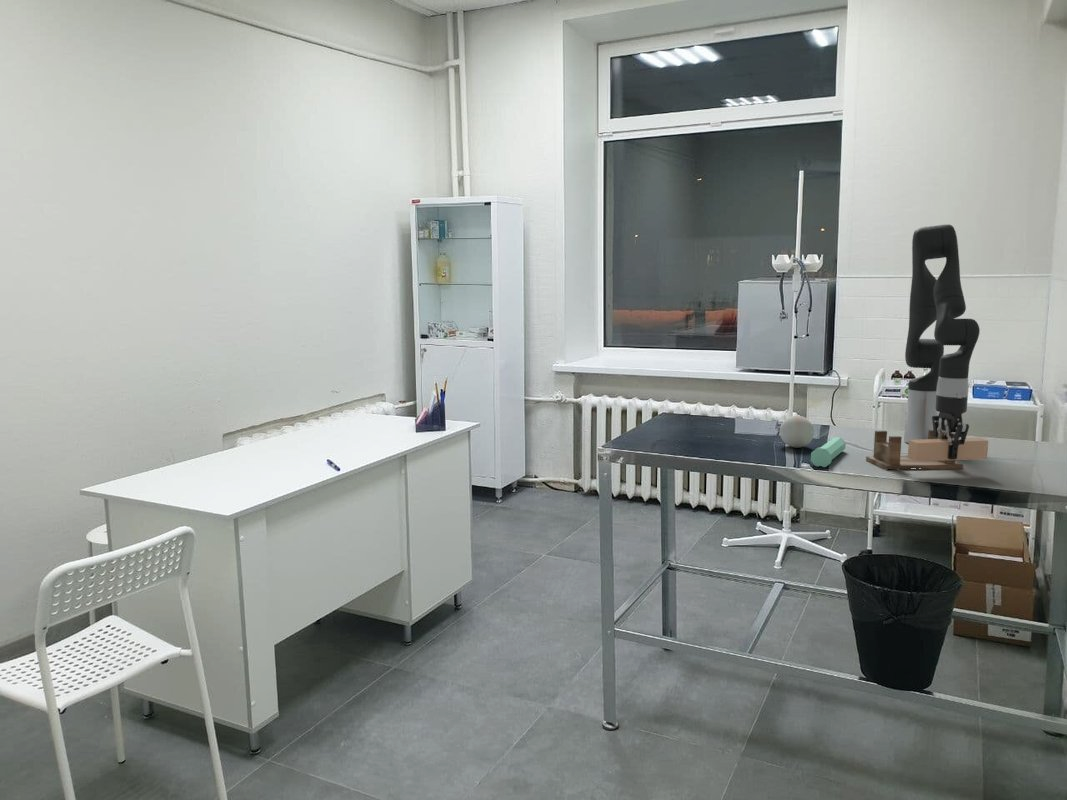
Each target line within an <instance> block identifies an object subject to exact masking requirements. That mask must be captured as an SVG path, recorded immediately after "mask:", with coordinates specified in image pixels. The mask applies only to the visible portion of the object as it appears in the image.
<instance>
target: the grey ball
mask: <svg viewBox="0 0 1067 800" xmlns="http://www.w3.org/2000/svg"><path fill="white" fill-rule="evenodd" d="M779 435H780V438H781V440H782V441H783V442H784V443H785V444H786V446H788V447H791V448H795V449H797V448H803V447H806V446H807V445H809V444H810V442H811V441H813V438H814V435H815V429H814V426H813V424H812V422H811V421H810V420H809V419H808V418H807V417H805V416H801V415H791V416H789V417H787V418H786V419H785V420H784V421H782V423H781V425H780V427H779Z"/></svg>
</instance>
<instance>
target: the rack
mask: <svg viewBox="0 0 1067 800" xmlns="http://www.w3.org/2000/svg"><path fill="white" fill-rule="evenodd" d="M887 438H888V439H887ZM953 438H954V437H953ZM928 439H937V437H934V432H933V430H929V431H928ZM901 451H902V436H900V435H897V436H896V435H892V436H891V435H890V436H888V431H887V430H874V443H873V455H871V456H870V455H869V456H866V457H865V461H867V462H869V463H870V464H872V465H875V466H877V467H879V468H880V469H881V468H882V469H883V470H885V469H886V471H889V470H888V469H891V470H890V471H893V470H892V469H911V468H916V470H952V469H953V470H956V469H959V470H960V469H963V468H964V463H960V462H959V461H957V460H943V461H914V460H911V459H909V458H908V455H901V454H902V453H901ZM919 468H921V469H919Z"/></svg>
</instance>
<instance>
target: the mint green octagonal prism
mask: <svg viewBox="0 0 1067 800" xmlns="http://www.w3.org/2000/svg"><path fill="white" fill-rule="evenodd" d="M844 450H846V441H845V439H843V438H842V437H840V436H839V437H838V436H834V437H833V438H831V439H830V440H829V441H828V442H826V443H825V444H823V445H822V446H821V447H817V448H815V449H814V450H813V451H812V452H811V453H810V462H811V463H812V464H813V465H814V466H815V467H819V466H822V468H826V467H828V466H829V465H830V464H831V463H832V460H833V459H835V458H836V457H837V456H839V455H840V453H842V452H843V451H844Z"/></svg>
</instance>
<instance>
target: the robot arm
mask: <svg viewBox="0 0 1067 800" xmlns="http://www.w3.org/2000/svg"><path fill="white" fill-rule="evenodd" d="M958 243H959V242H958V237H957V232H956V229H955V227H954V226H953V225H952V224H938V225H929V226H922V227H921V226H920V227H918V228H916V229H914V231H913V235H912V242H911V244H912V245H911V249H912V250H911V251H912V252H911V253H912V256H911V260H912V262H911V263H912V264H911V265H912V266H911V267H912V276H911V285H910V294H909V310H908V311H909V313H908V315H909V317H908V319H909V320H908V332H907V339H906V344H905V345H906V346H905V352H904V353H905V355H904V356H905V357H904V358H905V363H906V365H907V366H908V367H909V368H913V369H930V371H929V372H927V373H926V374H924V375H922V376H920V377H915V378H911V379H910V380H909V381H908V384H907V385H908V386H907V401H906V404H907V405H906V412H905V419H904V434H903V435H904V436H903V439H904V443H907V444H909V440H920V439H928V431H929V430H933V432H934V437H937V439H949V448H948V459H957V454H958V446H959V445H963V444H964V442H965V439H966V438H967V435H968V431H969V428H970V425H969V423H964V422H963V417H962V415H963V414H965V413H966V412H967V409H968V398H969V371H970V370H969V369H970V362H971V358H972V354H973V352H974V350H975V346H976V345H977V342H978V339H979V337H980V330H981V329H980V325H979V323H978V322H977V320H975V319H973V318H959V317H962V315H963V314H965V312H966V310H967V305H966V300H965V298H964V292H963V288H962V282H961V270H960V256H959V255H960V254H959V244H958ZM944 258H945V259H946V260H945V264H944V267H943V269H942V271H941V273H940V274H939V276H937V277H938V278H936V277H935V276H934V274H932V272H931V271H930V269H929V268H928V266H927V265H926V261H927V260H928V261H929V260H936V259H944ZM934 323H935V325H934V331H933V332H934V333H933V334H934V338H921V337H922V335H923V333H925V331H926V330H927V329H929V328H930V327H931V326H932V325H933V324H934ZM945 346H959V347H958V349H957V350H956V351H955V352H953V353H947V354H945V353H944V352H945V350H944V349H945ZM953 437H954V440H953ZM960 438H961V440H960Z"/></svg>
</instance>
